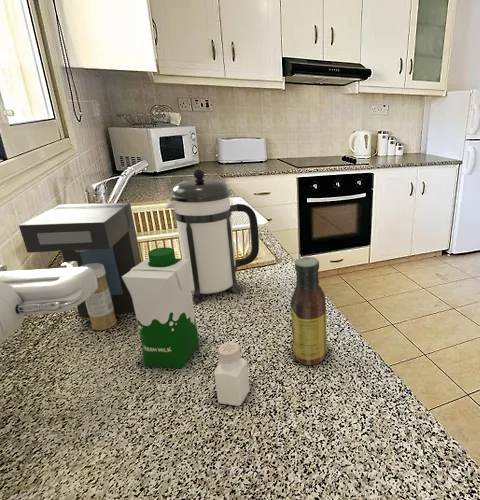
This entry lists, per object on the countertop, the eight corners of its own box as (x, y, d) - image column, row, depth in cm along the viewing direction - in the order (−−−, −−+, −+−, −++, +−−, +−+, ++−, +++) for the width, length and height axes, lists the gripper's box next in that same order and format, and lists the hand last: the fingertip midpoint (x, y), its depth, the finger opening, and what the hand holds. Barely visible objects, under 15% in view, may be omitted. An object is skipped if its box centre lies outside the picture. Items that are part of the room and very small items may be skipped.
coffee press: (225, 309, 85) (210, 177, 74) (167, 298, 89) (144, 172, 78) (262, 278, 101) (255, 165, 90) (211, 269, 105) (198, 161, 94)
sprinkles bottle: (101, 319, 80) (86, 261, 75) (122, 319, 80) (108, 262, 75) (86, 331, 76) (70, 271, 71) (108, 332, 76) (93, 272, 71)
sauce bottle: (303, 343, 74) (300, 250, 66) (332, 351, 72) (332, 255, 64) (286, 363, 68) (281, 263, 61) (317, 372, 66) (316, 270, 59)
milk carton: (205, 341, 73) (192, 247, 66) (184, 372, 65) (166, 268, 58) (162, 339, 74) (143, 245, 66) (135, 370, 65) (111, 266, 58)
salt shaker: (251, 390, 62) (247, 341, 58) (240, 408, 58) (235, 357, 54) (228, 386, 62) (223, 338, 59) (216, 404, 58) (209, 354, 55)
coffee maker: (55, 345, 71) (17, 226, 63) (87, 307, 84) (59, 204, 76) (129, 338, 74) (103, 222, 65) (149, 302, 87) (130, 202, 78)
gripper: (65, 284, 45) (108, 244, 58) (-144, 297, 41) (-49, 252, 54) (78, 328, 48) (117, 281, 60) (-119, 345, 44) (-33, 291, 56)
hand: (37, 267), depth 57 cm, fingers open, 8 cm apart
